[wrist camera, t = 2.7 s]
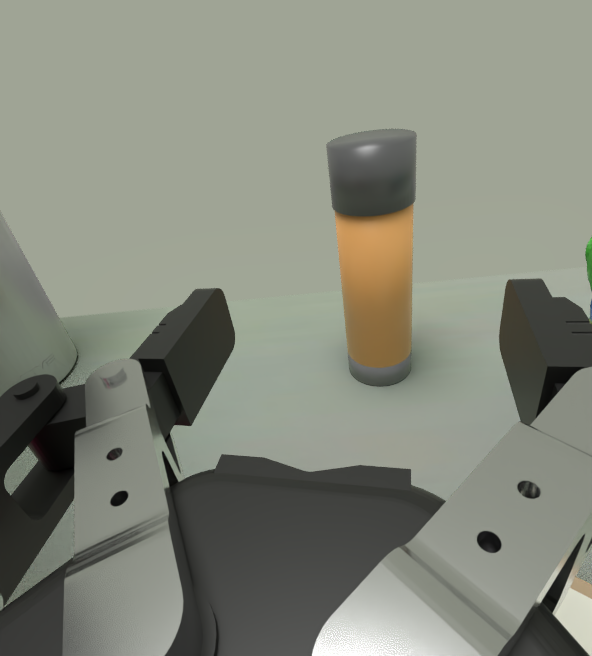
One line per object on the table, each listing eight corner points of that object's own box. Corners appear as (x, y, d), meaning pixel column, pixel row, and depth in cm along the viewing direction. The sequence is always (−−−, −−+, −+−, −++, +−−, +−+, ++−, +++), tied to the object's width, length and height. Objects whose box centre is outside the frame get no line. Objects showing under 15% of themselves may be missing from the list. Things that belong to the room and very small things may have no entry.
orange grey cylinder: (335, 374, 28) (309, 150, 20) (367, 340, 30) (354, 129, 22) (394, 395, 25) (390, 151, 17) (423, 356, 28) (431, 127, 20)
